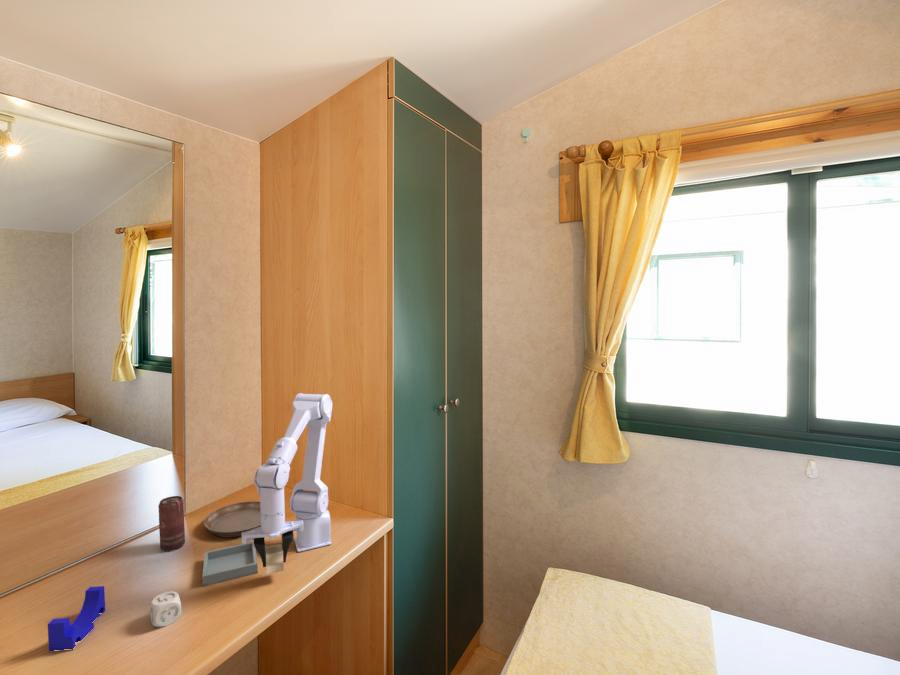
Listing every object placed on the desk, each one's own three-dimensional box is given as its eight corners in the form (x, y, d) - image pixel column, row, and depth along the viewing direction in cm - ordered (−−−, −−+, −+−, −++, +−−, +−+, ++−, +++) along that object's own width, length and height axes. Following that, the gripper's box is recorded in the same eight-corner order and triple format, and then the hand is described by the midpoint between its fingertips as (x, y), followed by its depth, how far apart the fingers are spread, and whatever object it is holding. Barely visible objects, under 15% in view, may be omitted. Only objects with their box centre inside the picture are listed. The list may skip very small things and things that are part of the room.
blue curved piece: (73, 650, 89) (71, 622, 89) (49, 652, 89) (47, 624, 88) (112, 610, 101) (111, 585, 101) (91, 612, 101) (90, 586, 100)
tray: (255, 549, 127) (254, 541, 126) (257, 572, 115) (257, 563, 115) (205, 560, 121) (204, 552, 121) (202, 586, 110) (202, 576, 110)
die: (149, 619, 98) (148, 598, 98) (175, 608, 102) (174, 588, 101) (155, 631, 94) (154, 608, 94) (181, 619, 98) (181, 597, 98)
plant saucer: (284, 526, 141) (284, 516, 140) (212, 549, 127) (212, 538, 127) (263, 505, 156) (263, 495, 156) (198, 522, 143) (197, 513, 143)
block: (281, 562, 115) (281, 543, 115) (283, 570, 112) (283, 551, 111) (265, 566, 114) (264, 547, 113) (266, 574, 110) (265, 555, 110)
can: (174, 553, 125) (172, 505, 124) (155, 550, 126) (153, 503, 125) (190, 542, 131) (188, 496, 130) (172, 539, 132) (170, 494, 131)
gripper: (241, 524, 105) (243, 579, 106) (304, 511, 111) (306, 563, 112) (240, 512, 111) (242, 563, 112) (300, 500, 118) (302, 549, 119)
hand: (274, 562), depth 113 cm, fingers closed on block, 4 cm apart
